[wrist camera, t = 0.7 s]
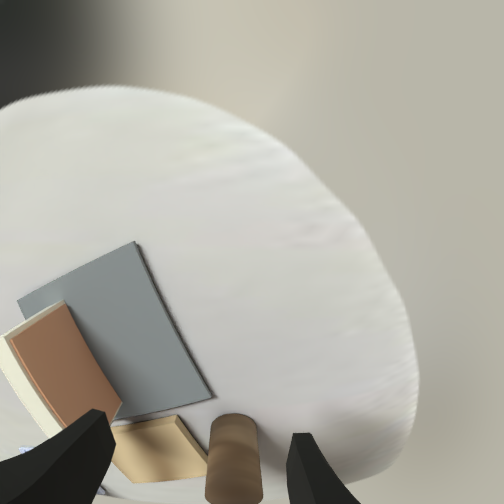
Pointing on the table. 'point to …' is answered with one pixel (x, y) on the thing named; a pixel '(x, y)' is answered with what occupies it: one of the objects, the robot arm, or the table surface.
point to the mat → (126, 331)
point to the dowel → (233, 462)
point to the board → (158, 451)
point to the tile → (55, 370)
